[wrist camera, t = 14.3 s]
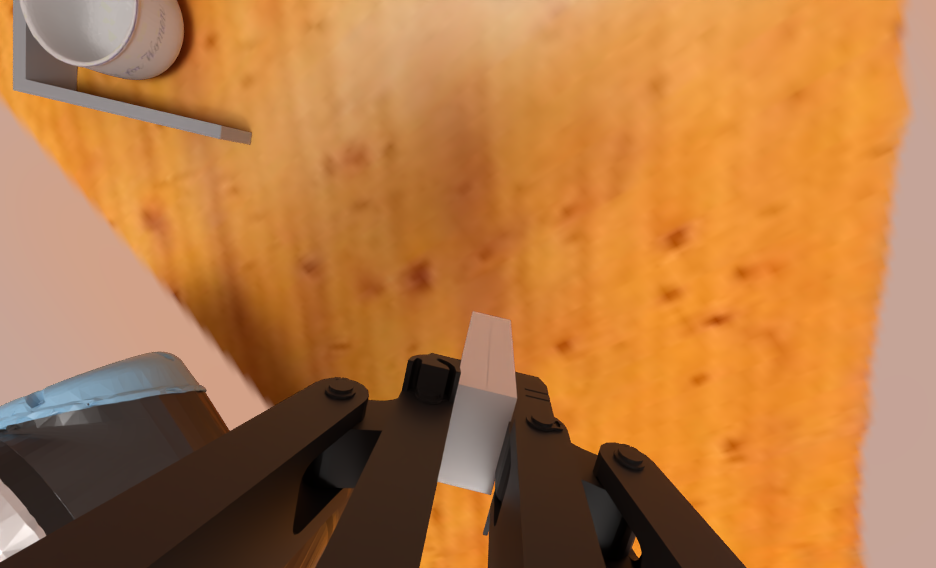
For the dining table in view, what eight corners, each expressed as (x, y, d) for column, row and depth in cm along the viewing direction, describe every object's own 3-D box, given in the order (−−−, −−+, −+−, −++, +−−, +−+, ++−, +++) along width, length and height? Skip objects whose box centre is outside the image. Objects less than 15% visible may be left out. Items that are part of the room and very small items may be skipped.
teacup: (132, 105, 45) (56, 87, 38) (76, -1, 44) (-16, -43, 36) (247, 45, 43) (191, 13, 36) (193, -69, 42) (122, -129, 34)
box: (250, 144, 45) (220, 139, 40) (65, 100, 46) (13, 90, 41) (273, -56, 41) (243, -89, 36) (70, -102, 42) (13, -140, 37)
